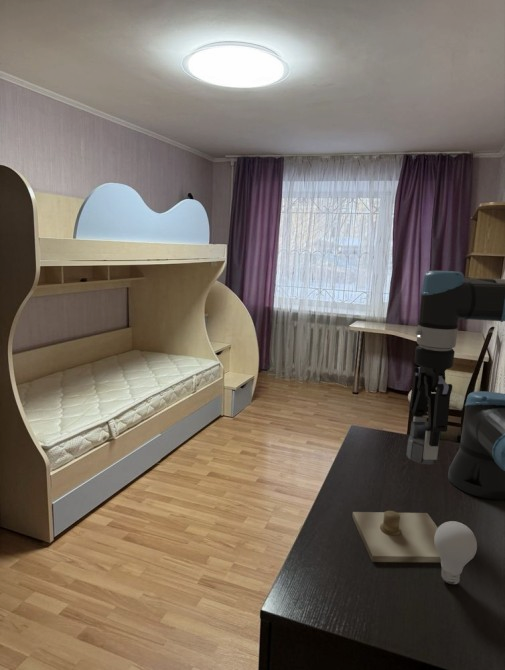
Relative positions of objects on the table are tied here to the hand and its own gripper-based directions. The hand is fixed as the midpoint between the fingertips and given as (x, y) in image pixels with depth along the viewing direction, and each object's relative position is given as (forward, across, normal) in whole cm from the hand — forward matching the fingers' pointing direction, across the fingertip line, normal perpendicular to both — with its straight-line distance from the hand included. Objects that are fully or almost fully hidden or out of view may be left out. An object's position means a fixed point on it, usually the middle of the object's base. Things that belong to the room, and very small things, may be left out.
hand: (423, 451), depth 101 cm
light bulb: (+13, +23, -4) cm, 27 cm away
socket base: (+13, +11, -8) cm, 19 cm away
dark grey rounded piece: (+1, 0, 0) cm, 1 cm away
